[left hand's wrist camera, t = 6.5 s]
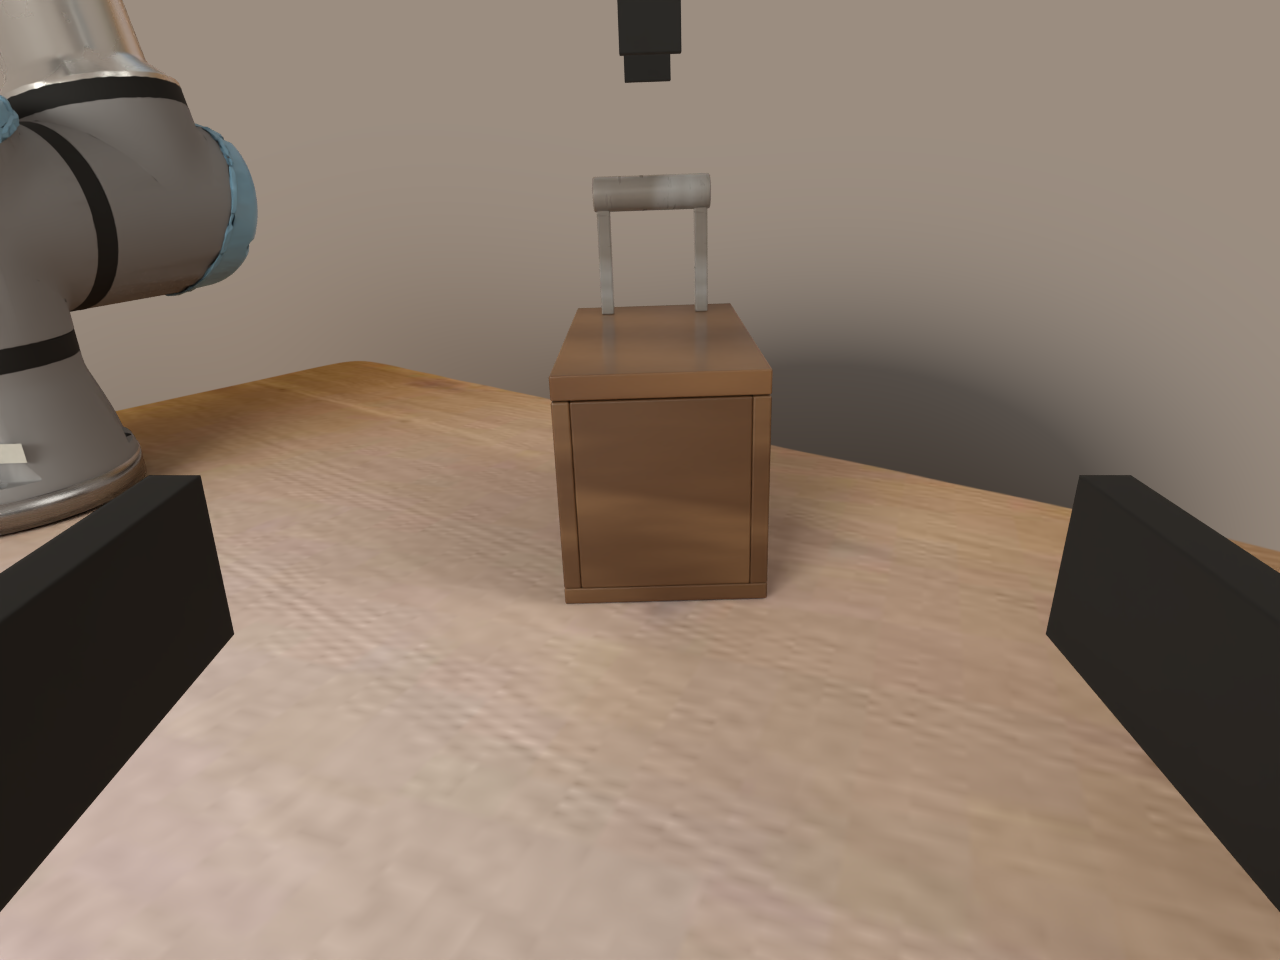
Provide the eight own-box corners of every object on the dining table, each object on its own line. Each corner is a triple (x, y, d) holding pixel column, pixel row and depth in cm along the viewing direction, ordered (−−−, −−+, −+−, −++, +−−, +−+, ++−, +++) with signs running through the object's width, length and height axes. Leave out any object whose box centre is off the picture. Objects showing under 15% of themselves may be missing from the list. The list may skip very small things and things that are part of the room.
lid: (578, 326, 50) (569, 177, 46) (730, 321, 49) (731, 171, 46) (550, 401, 34) (534, 185, 31) (772, 394, 34) (777, 176, 31)
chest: (586, 477, 52) (577, 329, 49) (730, 473, 52) (731, 324, 49) (565, 604, 37) (550, 402, 34) (766, 598, 37) (771, 395, 34)
